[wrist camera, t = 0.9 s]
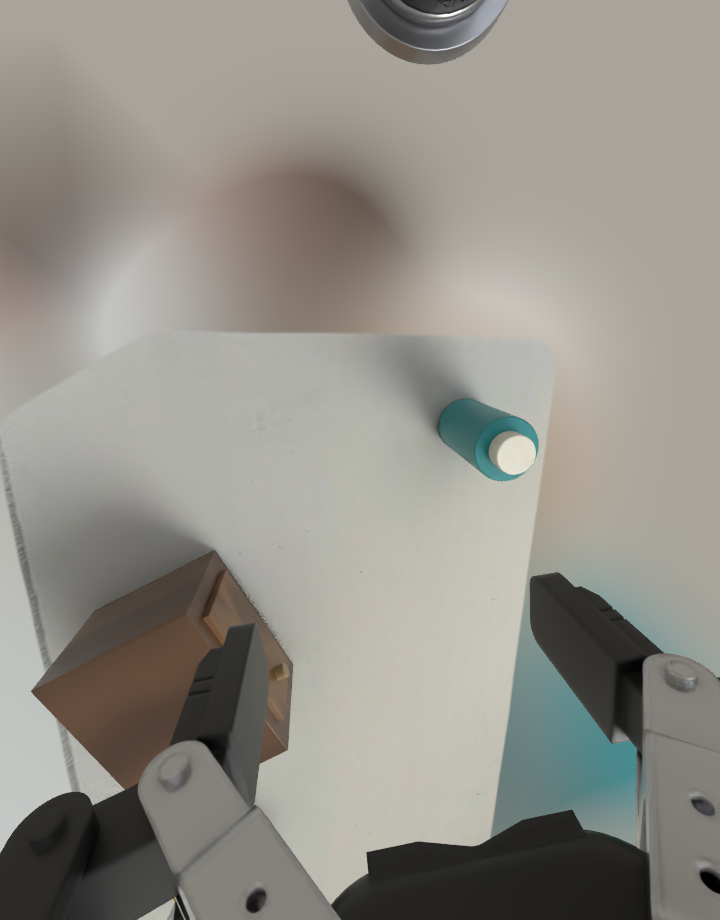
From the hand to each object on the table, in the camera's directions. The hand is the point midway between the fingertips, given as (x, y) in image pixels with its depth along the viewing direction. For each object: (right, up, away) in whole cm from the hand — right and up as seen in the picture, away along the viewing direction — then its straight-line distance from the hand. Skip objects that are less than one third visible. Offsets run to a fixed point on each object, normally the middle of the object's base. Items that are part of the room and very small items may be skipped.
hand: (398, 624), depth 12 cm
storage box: (-16, -12, +27) cm, 34 cm away
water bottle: (+8, +8, +24) cm, 26 cm away
